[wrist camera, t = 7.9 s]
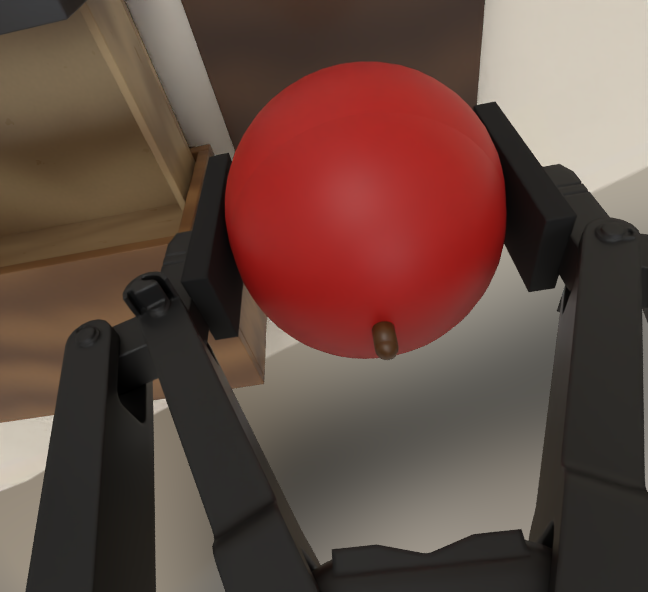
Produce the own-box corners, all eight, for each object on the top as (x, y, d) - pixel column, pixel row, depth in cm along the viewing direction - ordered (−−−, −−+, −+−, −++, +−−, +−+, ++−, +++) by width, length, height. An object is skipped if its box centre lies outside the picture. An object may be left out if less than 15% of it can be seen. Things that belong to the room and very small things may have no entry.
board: (104, -240, 19) (93, -242, 18) (500, -353, 18) (514, -364, 17) (259, 204, 37) (258, 216, 36) (465, 166, 35) (471, 177, 34)
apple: (200, 49, 15) (125, 255, 8) (469, -9, 14) (644, 165, 7) (270, 245, 22) (261, 453, 15) (456, 213, 21) (541, 417, 14)
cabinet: (-95, 204, 35) (-197, 309, 28) (209, 143, 33) (187, 240, 25) (37, 327, 47) (-10, 424, 39) (267, 288, 45) (264, 384, 37)
